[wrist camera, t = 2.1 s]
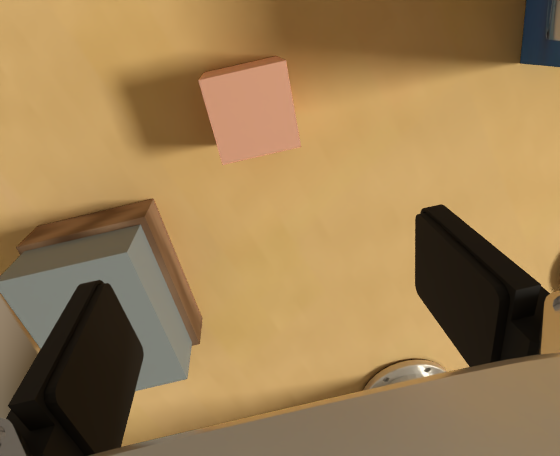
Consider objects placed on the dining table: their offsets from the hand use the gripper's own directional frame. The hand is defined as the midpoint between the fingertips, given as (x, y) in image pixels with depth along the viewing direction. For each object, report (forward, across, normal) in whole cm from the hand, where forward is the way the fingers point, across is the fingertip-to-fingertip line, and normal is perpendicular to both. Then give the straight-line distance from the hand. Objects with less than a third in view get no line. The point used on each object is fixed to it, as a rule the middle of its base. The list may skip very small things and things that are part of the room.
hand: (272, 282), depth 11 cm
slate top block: (+20, +15, +13) cm, 28 cm away
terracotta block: (+24, -1, -1) cm, 24 cm away
